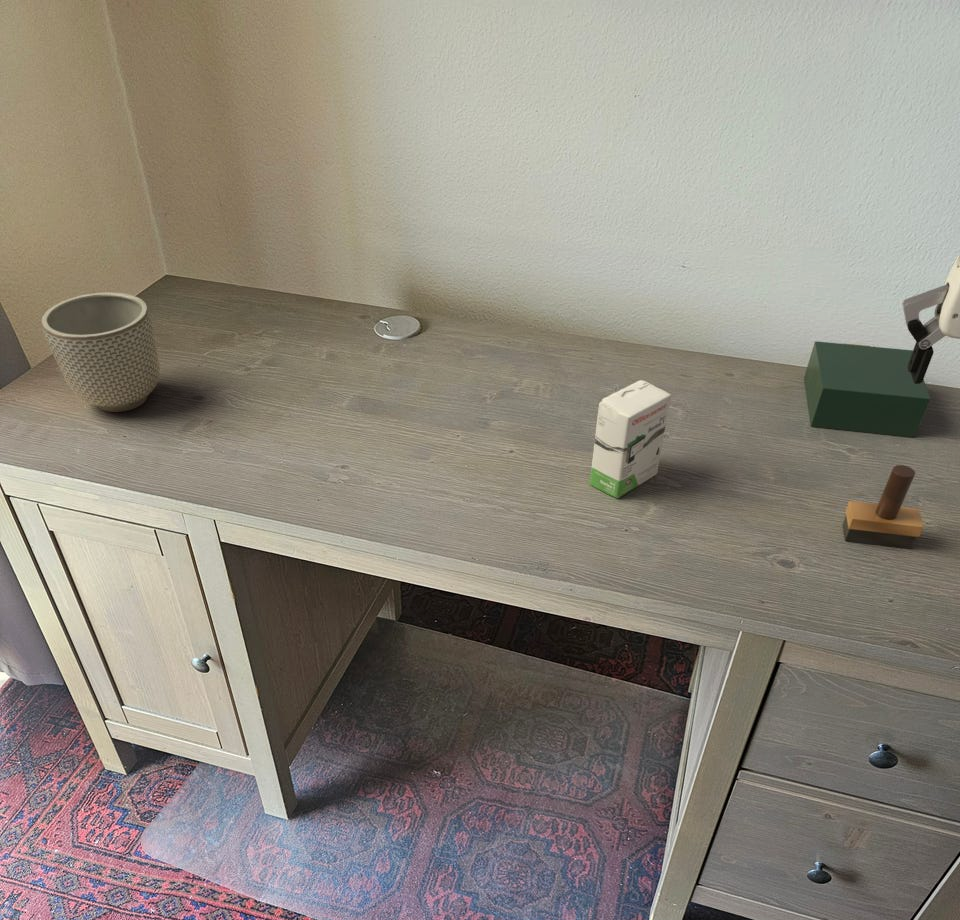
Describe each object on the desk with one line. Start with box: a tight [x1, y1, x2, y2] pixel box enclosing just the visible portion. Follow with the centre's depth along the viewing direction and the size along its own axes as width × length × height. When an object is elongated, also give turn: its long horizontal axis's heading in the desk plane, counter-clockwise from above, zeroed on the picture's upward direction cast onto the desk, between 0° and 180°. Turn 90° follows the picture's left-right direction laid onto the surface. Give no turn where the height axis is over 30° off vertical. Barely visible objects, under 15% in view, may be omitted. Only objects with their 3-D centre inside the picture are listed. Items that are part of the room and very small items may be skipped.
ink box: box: [589, 379, 672, 499], centre depth 108 cm, size 9×5×12 cm, turn 134°
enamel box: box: [803, 341, 931, 438], centre depth 123 cm, size 14×14×6 cm
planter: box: [40, 291, 161, 413], centre depth 120 cm, size 14×14×13 cm
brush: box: [842, 464, 924, 550], centre depth 101 cm, size 8×4×10 cm, turn 79°
